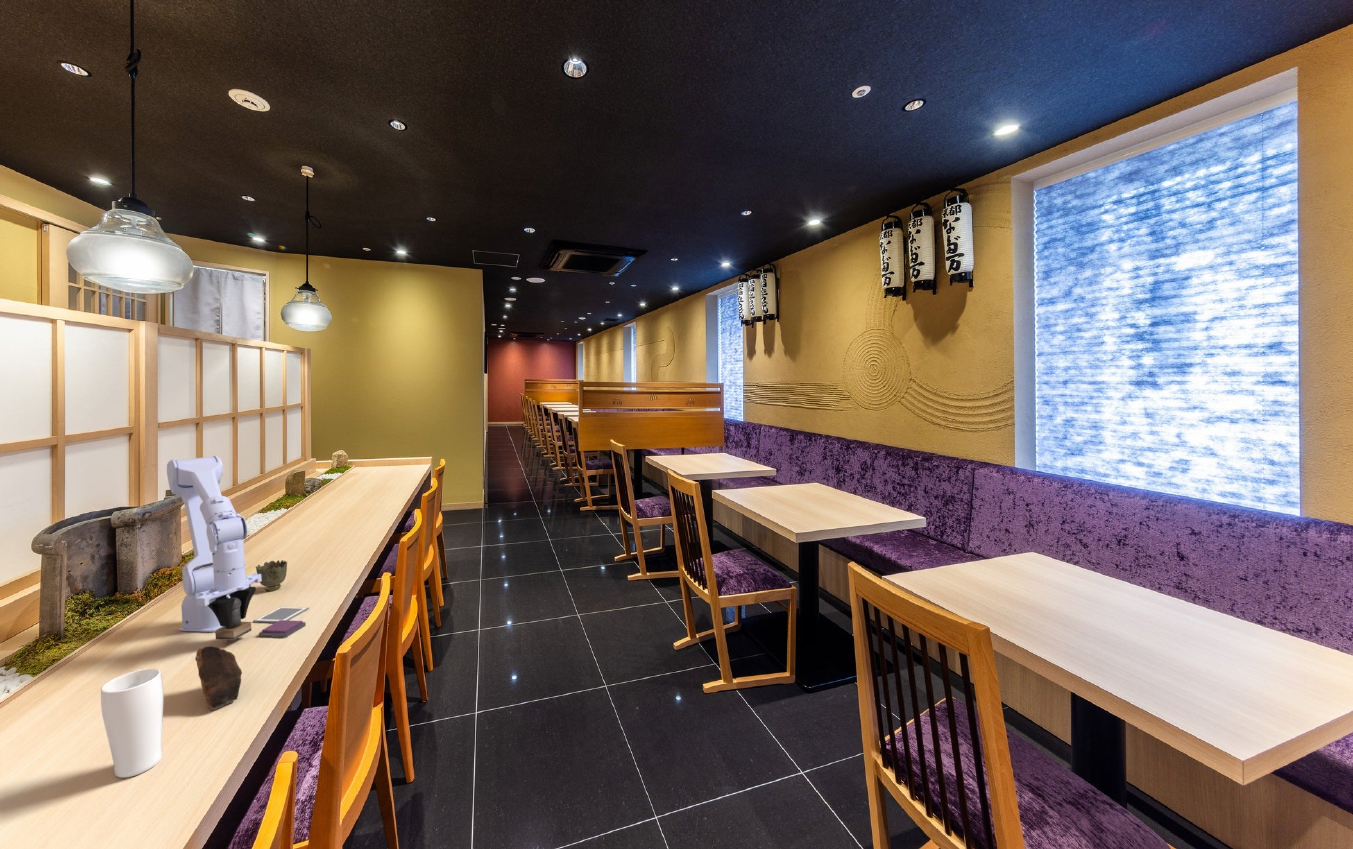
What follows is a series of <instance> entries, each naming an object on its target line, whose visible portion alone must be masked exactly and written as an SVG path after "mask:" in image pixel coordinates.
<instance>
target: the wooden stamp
mask: <svg viewBox="0 0 1353 849" xmlns="http://www.w3.org/2000/svg"><path fill="white" fill-rule="evenodd" d="M231 599H235V601H234V604H233V607H232V623H231V625H230V626H228V627H227V626H223V627H221V628H219V629H217V630H215V633H214V634H215V640H226V641H228V640H229V641H235V640H237V639H239V638H240V637H242V636H244V635H245V634H248V633H250V632H251V631H252V621H242V619H241V616H240V606H241V600H240V599H239V598H236V597H232V598H231Z"/></svg>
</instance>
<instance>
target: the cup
mask: <svg viewBox="0 0 1353 849" xmlns="http://www.w3.org/2000/svg"><path fill="white" fill-rule="evenodd" d="M287 569H288V561H286V560H280V559H279V560H277V561H275V560H270V561H269V562H267V561H265V562H264V563H263V565H260V564H258V565H257V566H256V565H255V570H256V574H261V580H262V581H261V582H259V584H260V585H261V586H263V587H265V590H266V591H267V592H274V591H277V590H280V588H281V586H282V585H281V584H282V583H283V582H284V581H285V579H286V576H287V571H288V570H287Z"/></svg>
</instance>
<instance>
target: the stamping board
mask: <svg viewBox="0 0 1353 849" xmlns="http://www.w3.org/2000/svg"><path fill="white" fill-rule="evenodd" d="M309 609H310V607H301V606H300V607H298V606H279V607H277V608H275V609H273V610H271V611H270V612H267V613H266V614H264V615H261V616H260V617H258V618H256V619H254V620H252V623H254V622H256V623H257V622H262V623H261V624H274V623H276V622H277V621H279V620H289V621H291V620H292V619H294V618H295V617H298V616H299V615H301V614H302V613H305V612H307V611H308V610H309ZM256 623H255V624H256Z"/></svg>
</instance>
